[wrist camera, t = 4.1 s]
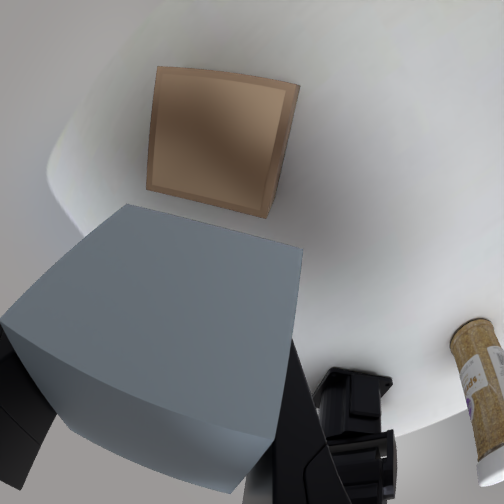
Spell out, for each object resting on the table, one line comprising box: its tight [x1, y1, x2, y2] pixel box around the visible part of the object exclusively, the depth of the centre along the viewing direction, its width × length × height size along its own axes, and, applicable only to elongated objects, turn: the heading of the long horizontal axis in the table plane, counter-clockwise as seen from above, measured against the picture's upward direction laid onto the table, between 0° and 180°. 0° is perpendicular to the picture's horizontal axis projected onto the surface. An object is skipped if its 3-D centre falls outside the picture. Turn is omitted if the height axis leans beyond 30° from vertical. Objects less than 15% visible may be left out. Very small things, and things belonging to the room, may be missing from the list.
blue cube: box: [0, 204, 303, 494], centre depth 7 cm, size 5×5×5 cm
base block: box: [146, 66, 300, 219], centre depth 15 cm, size 7×7×3 cm
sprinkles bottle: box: [450, 319, 504, 486], centre depth 14 cm, size 5×5×14 cm
